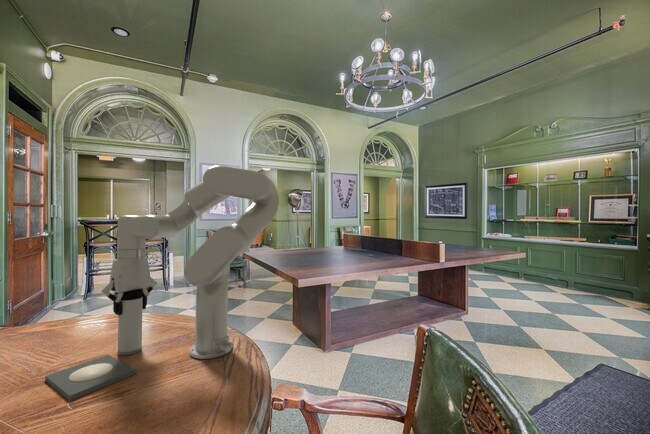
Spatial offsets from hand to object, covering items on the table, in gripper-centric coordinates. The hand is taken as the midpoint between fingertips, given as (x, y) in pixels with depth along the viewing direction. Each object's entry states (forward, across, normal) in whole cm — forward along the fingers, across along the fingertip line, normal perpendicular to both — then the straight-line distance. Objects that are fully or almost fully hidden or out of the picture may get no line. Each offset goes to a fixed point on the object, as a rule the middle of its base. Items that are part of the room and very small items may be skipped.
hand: (130, 310), depth 92 cm
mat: (+13, +13, +8) cm, 20 cm away
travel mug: (+13, 0, 0) cm, 13 cm away
